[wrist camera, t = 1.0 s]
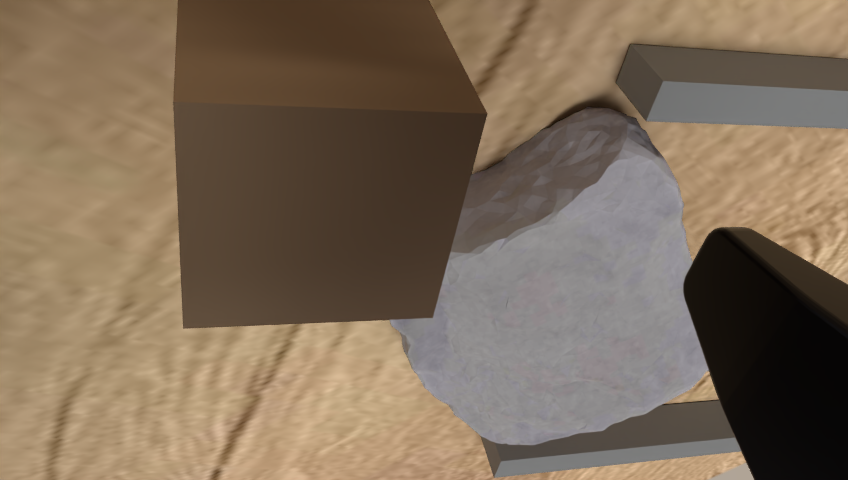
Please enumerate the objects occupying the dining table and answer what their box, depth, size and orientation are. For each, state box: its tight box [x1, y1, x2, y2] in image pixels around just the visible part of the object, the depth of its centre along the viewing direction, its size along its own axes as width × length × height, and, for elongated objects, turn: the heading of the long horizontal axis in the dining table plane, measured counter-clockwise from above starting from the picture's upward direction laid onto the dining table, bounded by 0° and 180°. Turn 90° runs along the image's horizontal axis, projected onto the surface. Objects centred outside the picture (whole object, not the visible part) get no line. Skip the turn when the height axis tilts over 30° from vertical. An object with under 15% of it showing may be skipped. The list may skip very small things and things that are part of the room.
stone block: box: [390, 107, 709, 445], centre depth 25 cm, size 12×5×10 cm
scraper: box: [173, 0, 487, 329], centre depth 12 cm, size 4×12×11 cm, turn 170°
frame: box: [481, 44, 848, 478], centre depth 28 cm, size 16×18×2 cm
